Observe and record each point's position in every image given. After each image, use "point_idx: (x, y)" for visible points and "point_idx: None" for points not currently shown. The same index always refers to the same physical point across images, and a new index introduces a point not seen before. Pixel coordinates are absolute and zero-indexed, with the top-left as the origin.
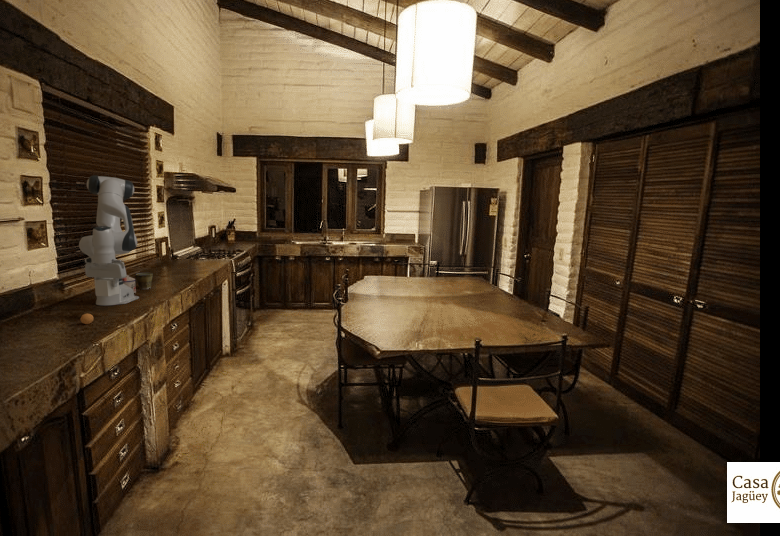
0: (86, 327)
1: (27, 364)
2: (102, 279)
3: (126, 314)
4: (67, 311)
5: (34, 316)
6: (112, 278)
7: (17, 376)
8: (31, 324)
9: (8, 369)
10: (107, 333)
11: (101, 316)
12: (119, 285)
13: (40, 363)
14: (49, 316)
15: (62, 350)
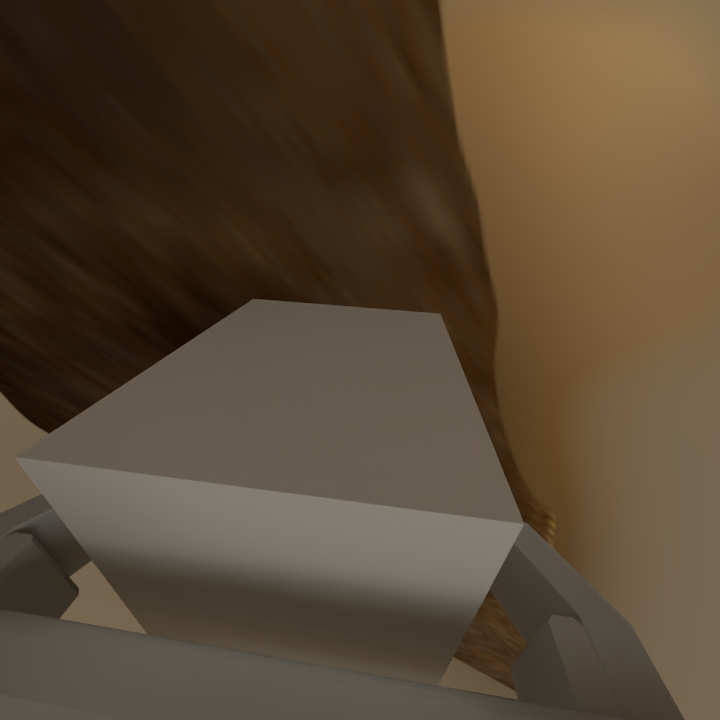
0: None
1: (471, 647)
2: (218, 619)
3: (438, 225)
4: (10, 227)
5: (13, 350)
6: (323, 536)
7: (497, 672)
8: None
9: (455, 656)
10: (534, 518)
11: (312, 303)
12: None
13: (494, 646)
14: (68, 341)
15: (487, 608)
